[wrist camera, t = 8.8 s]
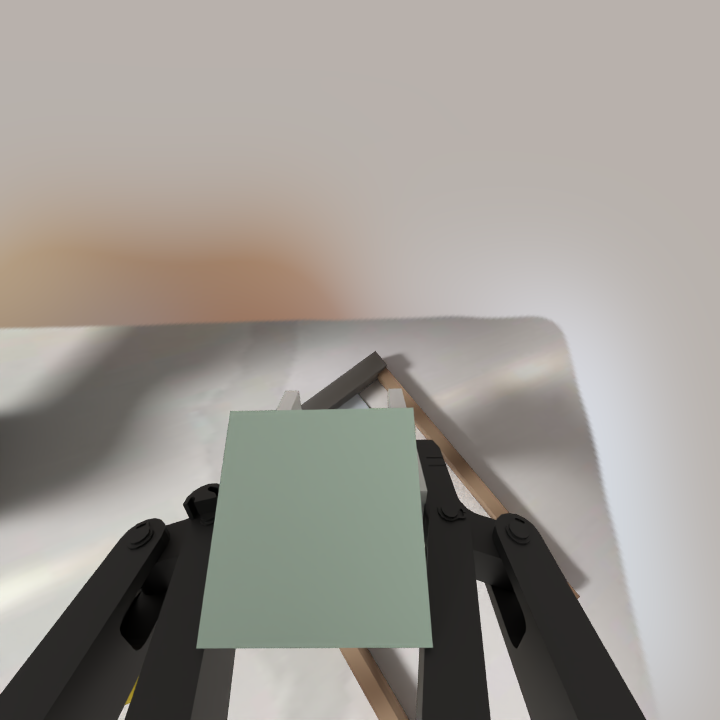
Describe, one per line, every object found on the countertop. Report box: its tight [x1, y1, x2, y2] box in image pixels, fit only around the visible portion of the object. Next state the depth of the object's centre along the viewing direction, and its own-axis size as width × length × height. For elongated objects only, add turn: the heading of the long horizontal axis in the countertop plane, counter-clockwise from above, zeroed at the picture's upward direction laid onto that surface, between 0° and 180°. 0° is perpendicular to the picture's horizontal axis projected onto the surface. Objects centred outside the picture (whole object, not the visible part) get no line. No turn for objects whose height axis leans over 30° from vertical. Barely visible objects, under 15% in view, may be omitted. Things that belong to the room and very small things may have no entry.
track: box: [301, 351, 580, 720], centre depth 25 cm, size 28×18×3 cm, turn 37°
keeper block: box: [196, 408, 433, 648], centre depth 12 cm, size 5×5×12 cm
